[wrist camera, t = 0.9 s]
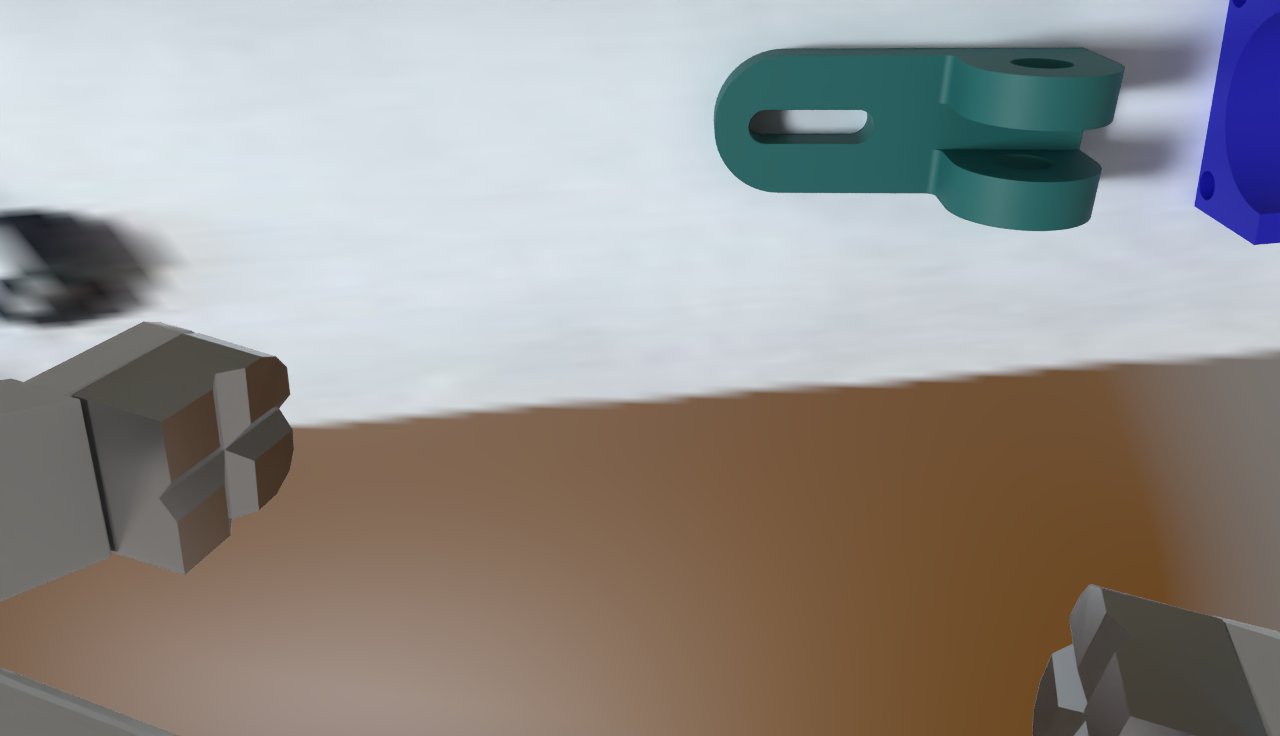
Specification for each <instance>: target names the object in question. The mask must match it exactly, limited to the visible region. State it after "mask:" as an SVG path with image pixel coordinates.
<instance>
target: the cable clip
mask: <svg viewBox="0 0 1280 736" xmlns="http://www.w3.org/2000/svg"><path fill="white" fill-rule="evenodd" d="M1195 207H1197V208H1198V209H1200V210H1201V211H1203V212H1204V213H1206V214H1207V215H1209V216H1210V217H1212V218H1214V219H1215V220H1217V221H1218V222H1220V223H1221V224H1223V225H1224V226H1226V227H1227V228H1229V229H1230V230H1232V231H1234V232H1235V233H1237V234H1238V235H1240V236H1241V237H1243V238H1244V239H1246V240H1247V241H1249V242H1250V243H1252V244H1254V245H1258V244H1270V243H1280V0H1230V1H1229V7H1228V12H1227V18H1226V24H1225V30H1224V36H1223V42H1222V48H1221V53H1220V59H1219V65H1218V71H1217V77H1216V83H1215V89H1214V94H1213V100H1212V106H1211V112H1210V118H1209V124H1208V130H1207V135H1206V141H1205V147H1204V153H1203V159H1202V165H1201V171H1200V176H1199V182H1198V188H1197V194H1196V200H1195Z"/></svg>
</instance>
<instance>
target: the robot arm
mask: <svg viewBox="0 0 1280 736" xmlns="http://www.w3.org/2000/svg"><path fill="white" fill-rule="evenodd" d="M289 395H290V389H289V381H288V372H287V367H286V366H285V365H284V364H283V363H282V362H281V361H280V360H279V359H278V358H277V357H276V356H273V355H269V354H266V353H263V352H260V351H256V350H253V349H250V348H246V347H243V346H240V345H236V344H233V343H230V342H227V341H223V340H220V339H217V338H213V337H210V336H207V335H203V334H200V333H194V332H192V331H190V330H187V329H183V328H179V327H176V326H172V325H168V324H165V323H161V322H142V323H140V324H138V325H136V326H134V327H132V328H130V329H128V330H126V331H124V332H122V333H120V334H118V335H116V336H114V337H112V338H110V339H108V340H106V341H104V342H102V343H100V344H98V345H96V346H94V347H92V348H90V349H89V350H87V351H85V352H83V353H81V354H79V355H77V356H75V357H73V358H71V359H69V360H67V361H65V362H63V363H61V364H59V365H57V366H55V367H53V368H51V369H49V370H47V371H45V372H43V373H41V374H39V375H37V376H35V377H33V378H31V379H29V380H27V381H25V382H21V381H18V380H14V379H6V380H0V601H3V600H5V599H8V598H10V597H13V596H15V595H18V594H20V593H23V592H25V591H28V590H30V589H33V588H35V587H38V586H40V585H42V584H45V583H48V582H50V581H53V580H55V579H57V578H60V577H62V576H65V575H67V574H70V573H72V572H75V571H77V570H80V569H82V568H85V567H87V566H90V565H92V564H95V563H97V562H100V561H102V560H104V559H107V558H110V557H111V552H112V553H115V554H118V555H122V556H125V557H128V558H131V559H134V560H138V561H141V562H144V563H148V564H151V565H154V566H157V567H161V568H164V569H167V570H171V571H174V572H177V573H180V574H183V575H185V574H186V573H188V572H189V571H190V570H191V569H192V568H193V567H194V566H196V565H197V564H198V563H199V562H200V561H202V560H203V559H204V558H205V557H206V556H207V555H208V554H210V553H211V552H212V551H213V550H214V549H215V548H216V547H218V546H219V545H220V544H221V543H222V542H223V541H225V540H226V539H227V538H228V537H229V536H230V534H231V523H232V519H233V518H237V517H240V516H243V515H246V514H249V513H253V512H256V511H259V510H260V509H261V508H262V507H263V506H264V505H266V504H267V503H268V502H269V501H270V500H271V499H272V498H273V497H274V496H275V495H276V494H277V493H278V491H279V489H280V487H281V486H282V483H283V482H284V480H285V478H286V476H287V475H288V473H289V471H290V466H291V461H292V456H293V451H294V446H293V445H294V444H293V430H292V428H291V427H290V425H289V423H288V422H287V420H286V419H285V417H284V416H283V414H282V413H281V411H280V409H279V408H280V407H281V405H282V404H283V403H284V402H285V400H286V399H287V398H288V397H289ZM1069 620H1070V626H1071V633H1072V639H1073V644H1072V645H1070V646H1068V647H1065V648H1063V649H1061V650H1059V651H1057V652H1055V653H1053V654H1052V655H1051V657H1050V660H1049V662H1048V664H1047V667H1046V669H1045V671H1044V674H1043V676H1042V679H1041V681H1040V685H1039V689H1038V693H1037V698H1036V702H1035V706H1034V712H1033V732H1032V735H1033V736H1280V633H1279V632H1278V631H1274V630H1270V629H1266V628H1262V627H1258V626H1254V625H1250V624H1246V623H1242V622H1238V621H1234V620H1230V619H1226V618H1221V617H1217V616H1208V615H1205V614H1201V613H1197V612H1193V611H1190V610H1186V609H1182V608H1178V607H1174V606H1171V605H1167V604H1163V603H1159V602H1155V601H1151V600H1148V599H1144V598H1140V597H1137V596H1133V595H1129V594H1125V593H1121V592H1117V591H1114V590H1110V589H1106V588H1102V587H1099V586H1095V585H1091V584H1090V585H1089V586H1088V587H1087V589H1086V590H1085V591H1084V592H1083V593H1082V594H1081V595H1080V597H1079V599H1078V601H1077V603H1076V605H1075V607H1074V609H1073V611H1072V613H1071V615H1070V617H1069ZM0 736H180V735H177V734H174V733H172V732H169V731H166V730H164V729H161V728H159V727H156V726H153V725H151V724H148V723H146V722H143V721H140V720H138V719H135V718H132V717H130V716H127V715H125V714H122V713H119V712H117V711H114V710H112V709H109V708H106V707H104V706H101V705H98V704H96V703H93V702H91V701H88V700H85V699H83V698H80V697H77V696H75V695H72V694H69V693H67V692H64V691H61V690H59V689H57V688H54V687H51V686H48V685H46V684H43V683H41V682H38V681H35V680H33V679H30V678H28V677H25V676H22V675H20V674H17V673H15V672H12V671H9V670H7V669H4V668H1V667H0Z"/></svg>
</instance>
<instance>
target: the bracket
mask: <svg viewBox="0 0 1280 736" xmlns="http://www.w3.org/2000/svg"><path fill="white" fill-rule="evenodd" d="M1124 69H1125V67H1124V66H1123V65H1122V64H1120V63H1118V62H1115V61H1113V60H1111V59H1108V58H1106V57H1104V56H1101V55H1099V54H1097V53H1094V52H1092V51H1090V50H1087V49H1085V48H894V49H775V50H770V51H766V52H762V53H760V54H757V55H755V56H753V57H751V58H749V59H747V60H746V61H744V62H743V63H742V64H740V65H739V66H738V67H737V68H736V69H735V70H734V71H733V72H732V73H731V74H730V75H729V77H728V78H727V79H726V81H725V83H724V84H723V86H722V88H721V90H720V92H719V95H718V97H717V101H716V105H715V111H714V130H715V139H716V145H717V148H718V151H719V153H720V156H721V158H722V160H723V161H724V163H725V165H726V166H727V167H728V169H729V170H730V171H731V172H732V173H733V174H734V175H735V176H736V177H737V178H738V179H739V180H741V181H742V182H744V183H745V184H747V185H749V186H751V187H754V188H756V189H759V190H763V191H767V192H777V193H929V194H933V195H935V196H936V197H937V198H938V199H939V201H940V202H941V203H942V205H943V206H944V207H945V208H946V209H947V210H948V211H949V212H951V213H952V214H954V215H956V216H958V217H960V218H963V219H966V220H969V221H972V222H975V223H979V224H983V225H987V226H992V227H998V228H1005V229H1013V230H1025V231H1052V230H1063V229H1069V228H1074V227H1077V226H1080V225H1083V224H1085V223H1086V222H1088V221H1089V220H1090V218H1091V214H1092V209H1093V205H1094V201H1095V196H1096V192H1097V187H1098V183H1099V179H1100V174H1101V169H1102V168H1101V166H1100V165H1099V164H1098V163H1097V162H1096V161H1094V160H1093V159H1092V158H1090V157H1089V156H1087V155H1086V154H1084V153H1083V152H1082V151H1080V150H1079V147H1080V143H1081V138H1082V133H1083V130H1089V129H1096V128H1100V127H1104V126H1107V125H1109V124H1110V123H1112V121H1113V117H1114V113H1115V108H1116V104H1117V100H1118V95H1119V91H1120V87H1121V82H1122V78H1123V73H1124ZM762 110H863V111H866V112H867V121H866V124H865V126H864V127H863V128H862V129H861V130H860V131H858V132H856V133H853V134H758V133H755V132H754V131H752V130H751V129H750V128H749V122H750V120H751V118H752V117H753V115H754V114H756V113H757V112H759V111H762Z"/></svg>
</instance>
